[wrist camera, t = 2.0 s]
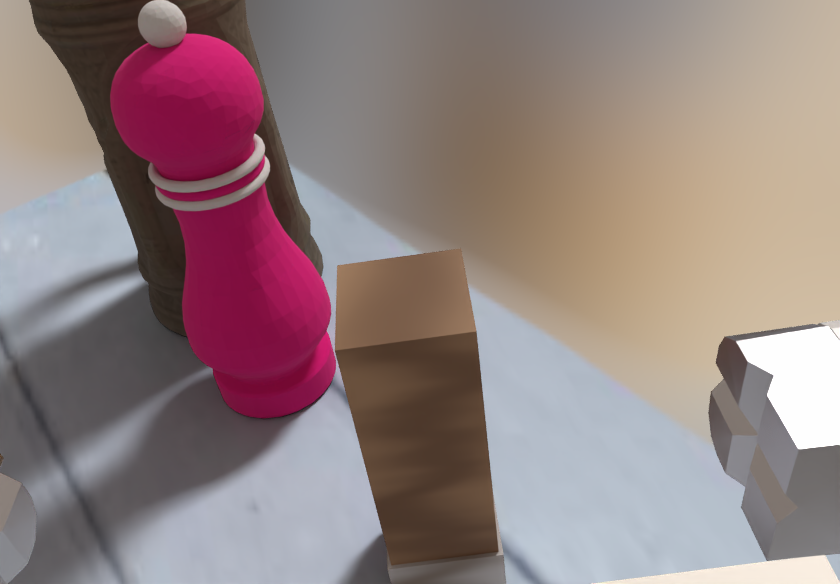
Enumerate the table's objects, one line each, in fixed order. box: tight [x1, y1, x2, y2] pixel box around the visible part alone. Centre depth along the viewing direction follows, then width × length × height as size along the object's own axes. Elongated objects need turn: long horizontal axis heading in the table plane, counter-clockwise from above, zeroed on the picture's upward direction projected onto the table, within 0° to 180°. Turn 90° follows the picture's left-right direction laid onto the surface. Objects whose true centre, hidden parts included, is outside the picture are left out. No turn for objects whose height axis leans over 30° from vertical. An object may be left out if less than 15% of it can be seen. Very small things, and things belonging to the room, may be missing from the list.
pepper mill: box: [110, 0, 336, 418], centre depth 35 cm, size 7×7×20 cm
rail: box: [335, 249, 506, 584], centre depth 28 cm, size 4×4×14 cm
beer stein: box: [29, 0, 323, 336], centre depth 44 cm, size 15×11×20 cm
